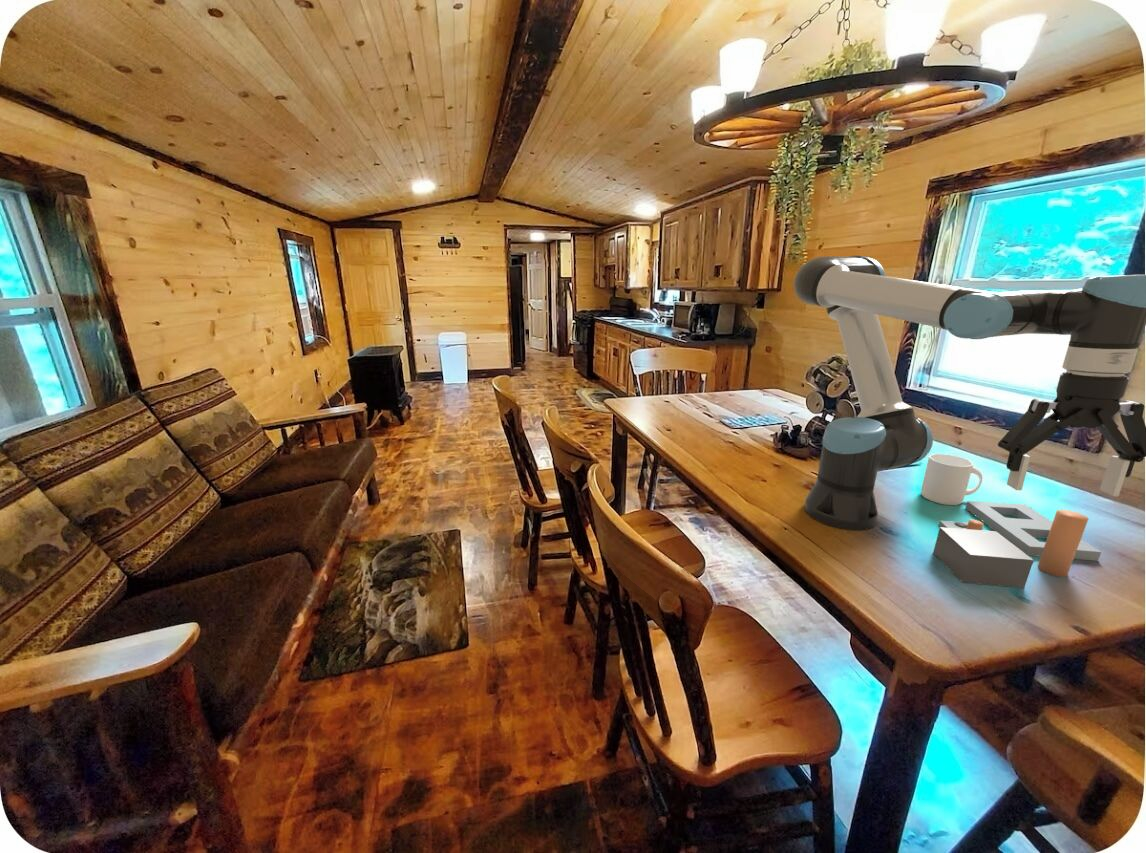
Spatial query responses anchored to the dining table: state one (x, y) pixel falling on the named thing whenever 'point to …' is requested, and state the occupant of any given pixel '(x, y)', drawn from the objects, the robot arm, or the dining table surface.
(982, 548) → the cover
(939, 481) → the mug
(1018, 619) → the dining table surface
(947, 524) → the board
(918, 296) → the robot arm
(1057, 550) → the peg
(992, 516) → the socket board
